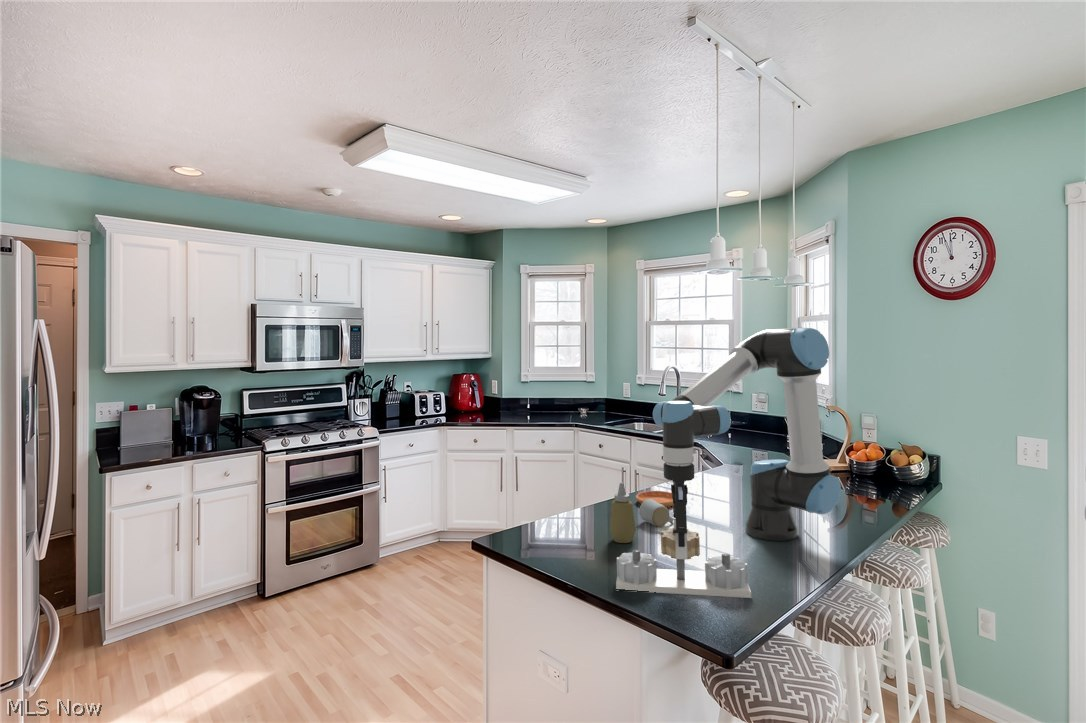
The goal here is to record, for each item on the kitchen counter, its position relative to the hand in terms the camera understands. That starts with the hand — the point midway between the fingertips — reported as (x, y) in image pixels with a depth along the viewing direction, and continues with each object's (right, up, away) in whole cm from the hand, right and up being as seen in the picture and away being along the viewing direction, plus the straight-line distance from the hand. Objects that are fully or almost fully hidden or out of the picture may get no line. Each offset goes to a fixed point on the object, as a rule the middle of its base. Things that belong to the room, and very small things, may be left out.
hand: (680, 551), depth 141 cm
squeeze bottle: (-10, -8, +33) cm, 35 cm away
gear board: (0, -9, 0) cm, 9 cm away
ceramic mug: (+4, -7, +48) cm, 49 cm away
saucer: (+9, -7, +72) cm, 73 cm away
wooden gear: (0, 0, 0) cm, 0 cm away
